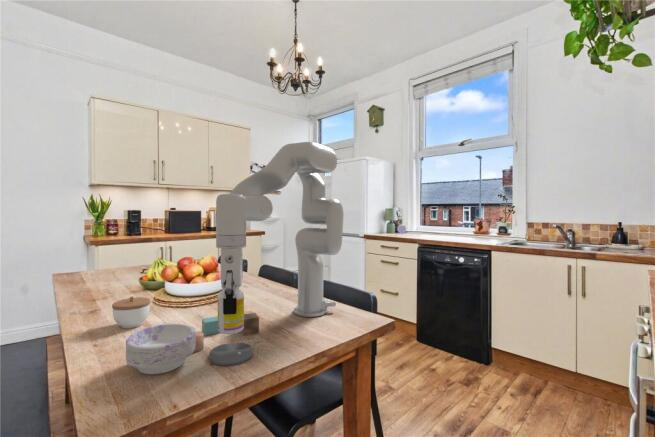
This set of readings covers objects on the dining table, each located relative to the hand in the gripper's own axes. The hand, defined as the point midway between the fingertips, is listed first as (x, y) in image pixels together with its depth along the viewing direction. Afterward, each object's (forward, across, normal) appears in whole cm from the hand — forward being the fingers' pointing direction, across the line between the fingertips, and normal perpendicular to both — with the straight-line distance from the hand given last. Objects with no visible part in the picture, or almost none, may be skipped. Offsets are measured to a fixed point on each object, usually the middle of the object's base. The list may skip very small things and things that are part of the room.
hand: (231, 308), depth 84 cm
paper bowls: (+13, -2, +16) cm, 21 cm away
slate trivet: (+13, 0, 0) cm, 13 cm away
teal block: (+13, +19, +7) cm, 24 cm away
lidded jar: (+13, +29, +34) cm, 46 cm away
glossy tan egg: (+13, +6, +10) cm, 17 cm away
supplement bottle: (+6, 0, 0) cm, 6 cm away
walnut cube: (+13, +16, -4) cm, 21 cm away
